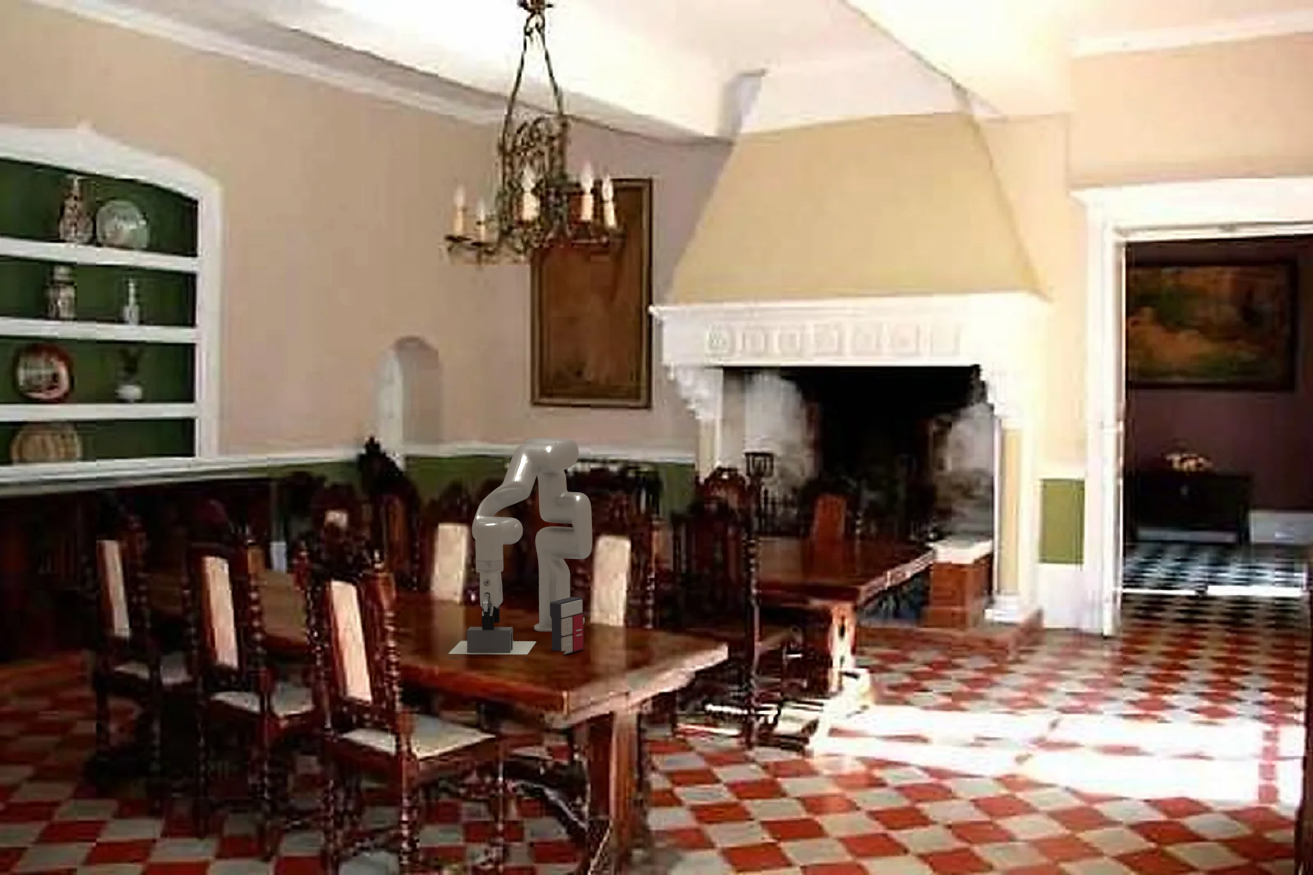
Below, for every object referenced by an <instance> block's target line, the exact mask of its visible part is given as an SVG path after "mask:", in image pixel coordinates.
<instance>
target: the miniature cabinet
mask: <svg viewBox="0 0 1313 875" xmlns="http://www.w3.org/2000/svg"><path fill="white" fill-rule="evenodd" d="M550 616H551V618H552V631H551V650H552V651H556V652H564V653H563V656H566V655H569V654H573V653H575V652H579V651H582V650H583V649H584V624H583V618H584V614H583V598H582V597H577V596H576V597H575V596H570V597H569V598H565V599H561V600H557V601H553V602H550Z"/></svg>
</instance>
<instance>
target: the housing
mask: <svg viewBox="0 0 1313 875" xmlns="http://www.w3.org/2000/svg"><path fill="white" fill-rule="evenodd" d="M513 632H514V629H513V627H512V626H494V630H482V626H470V627H468V629H467V630H466V641H467V652H490V653H510V652H511V650H513V641H514V633H513Z"/></svg>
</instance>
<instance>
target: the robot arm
mask: <svg viewBox="0 0 1313 875" xmlns="http://www.w3.org/2000/svg"><path fill="white" fill-rule="evenodd" d="M579 455H580V454H579V446H578V444H577V443H576V441H575V440H573V439H571V438H555V437H554V438H553V437H533V438H532V437H531V438H529V439H526V440H525V441H524V442H523V444H520V445H518V446H517V447H516V448H515V450H514V452H513V455H512V456H511V457H512V458H511V460H510V464H509V466H508V469H507V472H506V473H505V477H504V480H503V482H502V483H501V485H500V486H498V487H497V488H495V489H494V490H492V492H491V493H489V494H488V495H487V496H486V497H485V498H484V499H482V501H481V502H480V504H479V506H478V508H477V510H476V513H475V515H474V519H473V522H472V526H471V534H472V537H473V539H475V571H476V573H479V603H480V607H481V608H482V612H481V627H482V630H494V627H495V625H494V624H499V623H500V622H501V617H500V615H501V614H500V613H501V612H500V605H501V604H502V603H503V601H504V598H503V597H504V596H503V582H502V572H503V571H504V545H514V544H516V543H517V542H519V541H520V540H521V538H522V536H523V534H524V533H523V531H524V528H523V525H522V523H521V521H520V520H518V519H517V518H514V517H506V516H505V517H504V516H495V515H496V514H497V513H499V511H501V510H502V509H504V508H506V507H509V506H513V505H514V504H517V503H519V502H522V501H524V500H526V499H528V498H529V497H530V495H531V492H532V490H533V487H534V485H535V482H536V479H537V483H538V484H537V485H538V504H539V508H538V510H539V515H540V518H541V519H542V520H543V521H544V522H547V523H554V524H555V523H556V524H572V527H567V526H546V527H543V528H541V529H540V530H539V531H537V532H536V535H535V548H536V553H537V561H538V562H537V563H538V584H539V585H538V602H539V604H538V605H539V606H538V610H539V611H538V612H539V613H538V615H539V617H538V618H539V619H538V620H539V621H538V623H535V624H534V625H533V626H534V628H533V629H534V630H535V631H536V632H552V618H551V616H550V602H553V601H557V600H561V599H565V598H569V597H571V573H570V569H569V566H568V564H567V563H566V561H565V559H573V560H574V559H575V560H584V559H586V558H588V557H589V556H590V555H591V553H592V548H593V527H592V526H593V525H592V524H593V523H592V522H593V519H592V505H591V501H590V499H589V497H588V496H587V495H586V494H585V493H582V492H574V491H573V492H572V491H568V489H567V488H568V487H567V476H566V473H565V470H567V469H570V468H572V467H574V465H575V464H576V462H577V461H578V458H579ZM585 622H586V621H585V617H583V625H584V624H585Z"/></svg>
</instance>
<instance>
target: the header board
mask: <svg viewBox="0 0 1313 875" xmlns="http://www.w3.org/2000/svg"><path fill="white" fill-rule="evenodd" d="M536 643H537V641H532V640H531V641H527V640H526V641H525V640H523V641H522V640H521V641H520V640H518V641H517V640H516V641H515V640H513V650H511V652H510V653H490V652H467V640H460V641H459V642H458V643H457V644H456V645H455V646H453V648H452V649H451V650H450V651H449V652H448V655H528V654H529V653H530V651H531V650H532V648H533V647H534V646H535V644H536ZM508 659H509V658H504V660H508ZM522 659H523V660H527V661H528V658H522ZM448 660H461V658H455V657H454V658H450V657H449V658H448ZM508 661H509V660H508Z"/></svg>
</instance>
